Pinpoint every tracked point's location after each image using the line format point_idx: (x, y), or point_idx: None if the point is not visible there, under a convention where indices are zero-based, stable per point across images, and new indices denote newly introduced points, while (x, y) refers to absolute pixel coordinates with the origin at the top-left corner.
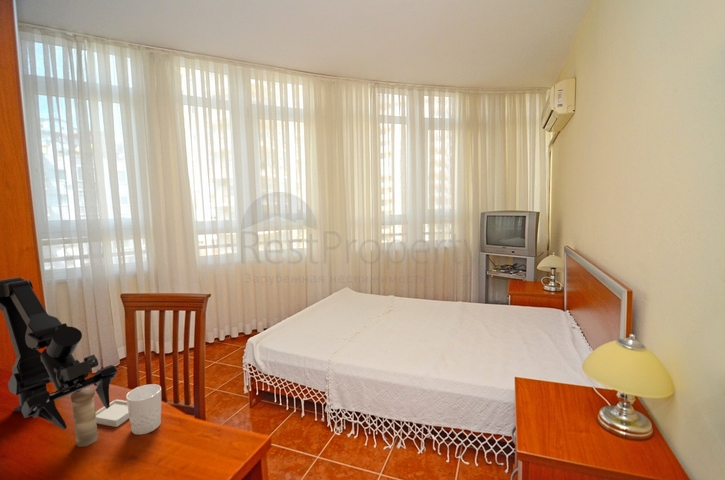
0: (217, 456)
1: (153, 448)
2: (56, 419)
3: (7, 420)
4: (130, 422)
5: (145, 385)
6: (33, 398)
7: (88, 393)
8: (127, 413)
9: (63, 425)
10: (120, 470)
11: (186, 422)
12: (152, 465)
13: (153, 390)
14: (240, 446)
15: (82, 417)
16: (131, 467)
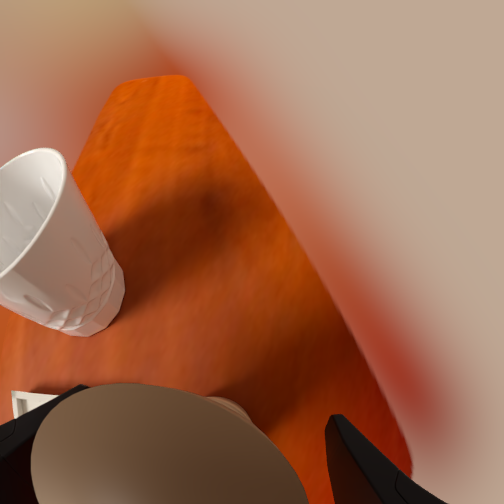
0: (158, 96)
1: (164, 189)
2: (387, 460)
3: None
4: (101, 302)
5: None
6: None
7: (117, 430)
8: (58, 395)
9: (348, 424)
10: (257, 192)
11: None
12: (213, 150)
13: None
14: (130, 91)
15: (239, 413)
16: (237, 179)
